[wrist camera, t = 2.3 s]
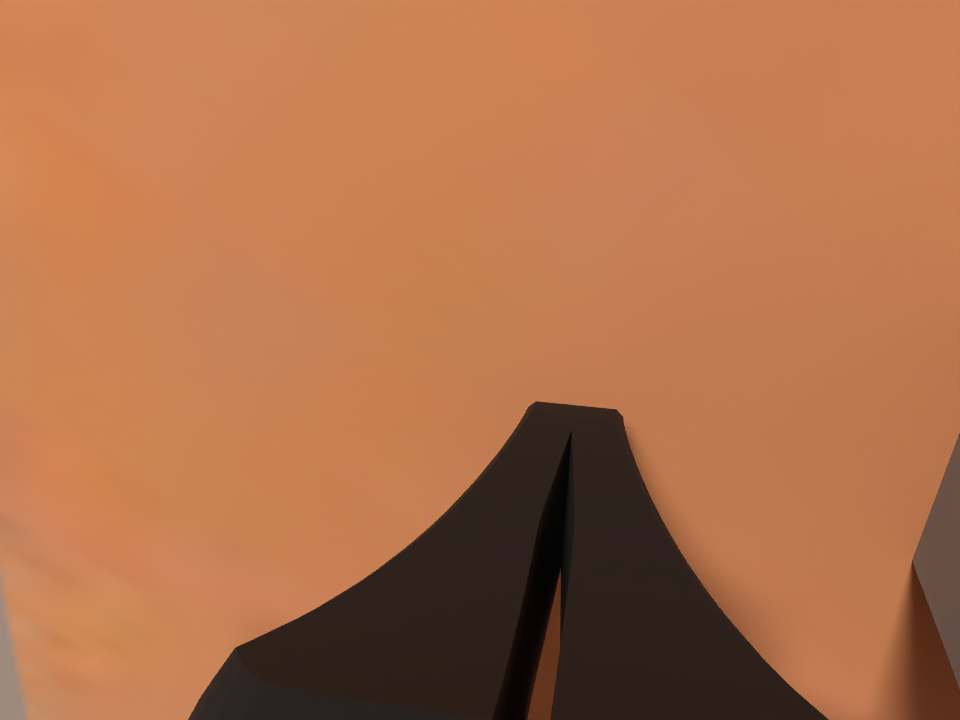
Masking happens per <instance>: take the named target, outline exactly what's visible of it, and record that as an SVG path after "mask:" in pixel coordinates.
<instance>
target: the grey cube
mask: <svg viewBox="0 0 960 720" xmlns="http://www.w3.org/2000/svg"><path fill="white" fill-rule="evenodd" d="M912 562H913V565H914V567H915V570H916V573H917V575H918V578H919V581H920V583H921V586H922V589H923V591H924V594H925V597H926V600H927V602H928V605H929V608H930V610H931V613H932V616H933V618H934V621H935V624H936V627H937V629H938V632H939V635H940V637H941V640H942V643H943V645H944V648H945V651H946V654H947V656H948V659H949V662H950V664H951V667H952V670H953V672H954V675H955V678H956V680H957V683H958V686H959V689H960V434H959V436H958V439H957V442H956V444H955V447H954V450H953V452H952V455H951V458H950V460H949V463H948V466H947V468H946V471H945V474H944V477H943V479H942V482H941V485H940V487H939V490H938V493H937V495H936V498H935V501H934V503H933V506H932V509H931V511H930V514H929V517H928V519H927V522H926V525H925V527H924V530H923V533H922V536H921V538H920V541H919V544H918V546H917V549H916V552H915V554H914V557H913V560H912Z"/></svg>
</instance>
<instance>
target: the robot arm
mask: <svg viewBox="0 0 960 720" xmlns="http://www.w3.org/2000/svg"><path fill="white" fill-rule="evenodd" d="M560 569H561V612H560V654H559V662H558V669H557V677H556V684H555V692H554V699H553V707H552V714H551V720H828V719H827V718H826V717H825V716H824V715H823V714H821V713H820V712H819V711H818V710H817V709H816V708H815V707H813V706H812V705H811V704H810V703H809V702H808V701H807V700H805V699H804V698H803V697H802V696H801V695H800V694H798V693H797V692H796V691H795V690H794V689H793V688H792V687H791V686H790V685H789V684H788V683H787V682H786V681H785V680H784V679H783V678H782V677H781V676H780V675H779V674H778V673H777V672H776V671H775V670H774V669H773V668H772V667H771V666H770V665H769V664H768V663H767V662H766V661H765V660H764V659H763V658H762V657H761V656H760V654H759V653H758V652H757V651H756V650H755V649H754V648H753V646H752V645H751V644H750V643H749V642H748V641H747V640H746V638H745V637H744V636H743V635H742V634H741V633H740V632H739V630H738V629H737V628H736V627H735V626H734V625H733V623H732V622H731V621H730V620H729V619H728V618H727V617H726V615H725V614H724V613H723V612H722V610H721V609H720V608H719V606H718V605H717V604H716V602H715V601H714V600H713V598H712V597H711V596H710V594H709V593H708V592H707V590H706V589H705V588H704V586H703V585H702V583H701V582H700V581H699V579H698V578H697V576H696V575H695V573H694V572H693V570H692V569H691V567H690V566H689V565H688V563H687V561H686V560H685V558H684V557H683V555H682V554H681V552H680V550H679V549H678V547H677V545H676V544H675V542H674V540H673V539H672V537H671V535H670V533H669V531H668V530H667V528H666V526H665V524H664V522H663V521H662V519H661V517H660V515H659V513H658V511H657V509H656V507H655V505H654V503H653V501H652V499H651V497H650V495H649V492H648V490H647V488H646V486H645V484H644V481H643V479H642V477H641V475H640V472H639V470H638V467H637V465H636V462H635V460H634V457H633V454H632V451H631V449H630V445H629V442H628V439H627V435H626V432H625V427H624V422H623V416H622V415H621V414H620V413H619V412H618V411H617V410H616V409H606V408H596V407H586V406H576V405H567V404H557V403H547V402H537V401H536V402H535V403H533V404H532V405H530V406H529V407H528V409H527V411H526V413H525V414H524V416H523V418H522V419H521V421H520V423H519V424H518V426H517V427H516V429H515V430H514V432H513V433H512V435H511V436H510V438H509V439H508V440H507V442H506V443H505V444H504V446H503V447H502V449H501V450H500V451H499V452H498V454H497V455H496V456H495V457H494V459H493V460H492V461H491V462H490V464H489V465H488V466H487V467H486V469H485V470H484V471H483V472H482V474H481V475H480V476H479V477H478V478H477V479H476V481H475V482H474V483H473V484H472V485H471V486H470V487H469V488H468V489H467V490H466V491H465V492H464V493H463V494H462V496H461V497H460V498H459V499H458V500H457V501H456V502H455V503H454V504H453V505H452V506H451V507H450V508H449V509H448V510H447V511H446V512H445V513H444V514H443V515H442V516H441V517H440V518H439V519H438V520H437V521H436V522H435V523H434V524H433V525H432V526H430V527H429V528H428V529H427V530H426V531H425V532H424V533H423V534H421V535H420V536H419V537H418V538H417V539H416V540H414V541H413V542H412V543H411V544H410V545H409V546H407V547H406V548H405V549H404V550H402V551H401V552H400V553H398V554H397V555H396V556H394V557H393V558H392V559H390V560H389V561H388V562H387V563H385V564H384V565H383V566H381V567H380V568H379V569H377V570H376V571H375V572H373V573H372V574H370V575H369V576H367V577H366V578H365V579H363V580H362V581H360V582H359V583H357V584H356V585H354V586H352V587H351V588H349V589H347V590H346V591H344V592H343V593H341V594H339V595H338V596H336V597H334V598H333V599H331V600H329V601H328V602H326V603H325V604H323V605H321V606H320V607H318V608H316V609H314V610H313V611H311V612H309V613H307V614H305V615H303V616H301V617H299V618H298V619H295V620H293V621H291V622H289V623H287V624H285V625H283V626H281V627H279V628H277V629H274V630H272V631H270V632H268V633H266V634H264V635H262V636H260V637H258V638H256V639H254V640H251V641H249V642H247V643H245V644H242V645H240V646H238V647H236V648H235V649H234V650H233V652H232V653H231V654H230V656H229V657H228V659H227V660H226V662H225V663H224V664H223V666H222V667H221V669H220V670H219V672H218V673H217V674H216V676H215V677H214V678H213V680H212V681H211V683H210V684H209V686H208V687H207V689H206V690H205V691H204V693H203V694H202V696H201V698H200V699H199V701H198V703H197V705H196V706H195V708H194V710H193V712H192V714H191V716H190V717H189V719H188V720H527V718H528V713H529V707H530V702H531V696H532V691H533V687H534V682H535V678H536V674H537V669H538V665H539V661H540V656H541V652H542V648H543V643H544V639H545V635H546V630H547V626H548V622H549V617H550V613H551V609H552V604H553V600H554V596H555V591H556V587H557V582H558V578H559V574H560Z"/></svg>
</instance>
